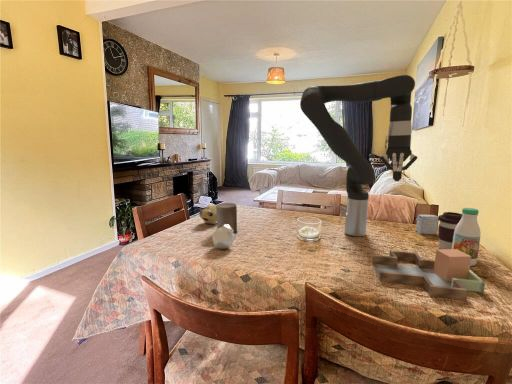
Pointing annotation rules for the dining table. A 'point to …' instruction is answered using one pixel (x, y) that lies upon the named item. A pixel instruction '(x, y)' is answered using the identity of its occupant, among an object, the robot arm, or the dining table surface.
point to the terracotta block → (452, 264)
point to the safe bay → (472, 282)
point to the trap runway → (417, 275)
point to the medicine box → (427, 224)
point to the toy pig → (209, 214)
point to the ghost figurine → (223, 237)
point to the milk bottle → (468, 234)
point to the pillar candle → (227, 215)
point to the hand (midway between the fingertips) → (396, 180)
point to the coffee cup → (447, 228)
